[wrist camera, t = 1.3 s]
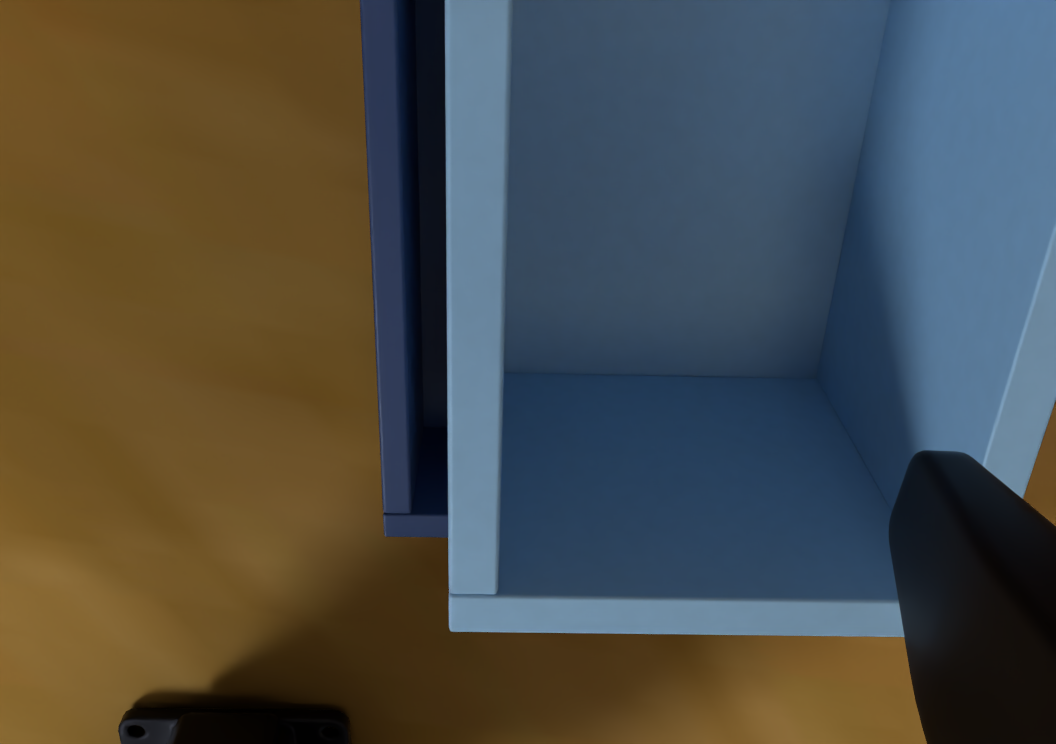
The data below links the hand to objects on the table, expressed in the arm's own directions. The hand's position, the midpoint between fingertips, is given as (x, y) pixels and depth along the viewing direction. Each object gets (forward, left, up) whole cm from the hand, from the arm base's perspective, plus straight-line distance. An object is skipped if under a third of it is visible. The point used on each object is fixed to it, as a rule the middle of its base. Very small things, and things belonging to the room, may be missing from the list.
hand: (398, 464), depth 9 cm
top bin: (-1, -5, -13) cm, 14 cm away
